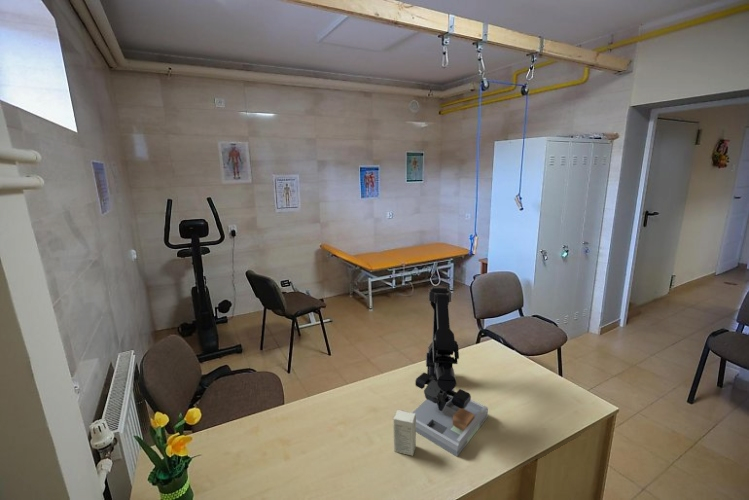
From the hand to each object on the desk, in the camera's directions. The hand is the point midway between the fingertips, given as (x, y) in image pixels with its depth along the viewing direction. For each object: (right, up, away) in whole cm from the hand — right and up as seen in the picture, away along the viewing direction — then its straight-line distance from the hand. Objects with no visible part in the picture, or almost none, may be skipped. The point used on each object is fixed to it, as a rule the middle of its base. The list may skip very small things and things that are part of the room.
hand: (440, 410), depth 121 cm
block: (+6, -3, -5) cm, 9 cm away
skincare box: (-14, -7, -12) cm, 19 cm away
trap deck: (+2, -3, -1) cm, 4 cm away
